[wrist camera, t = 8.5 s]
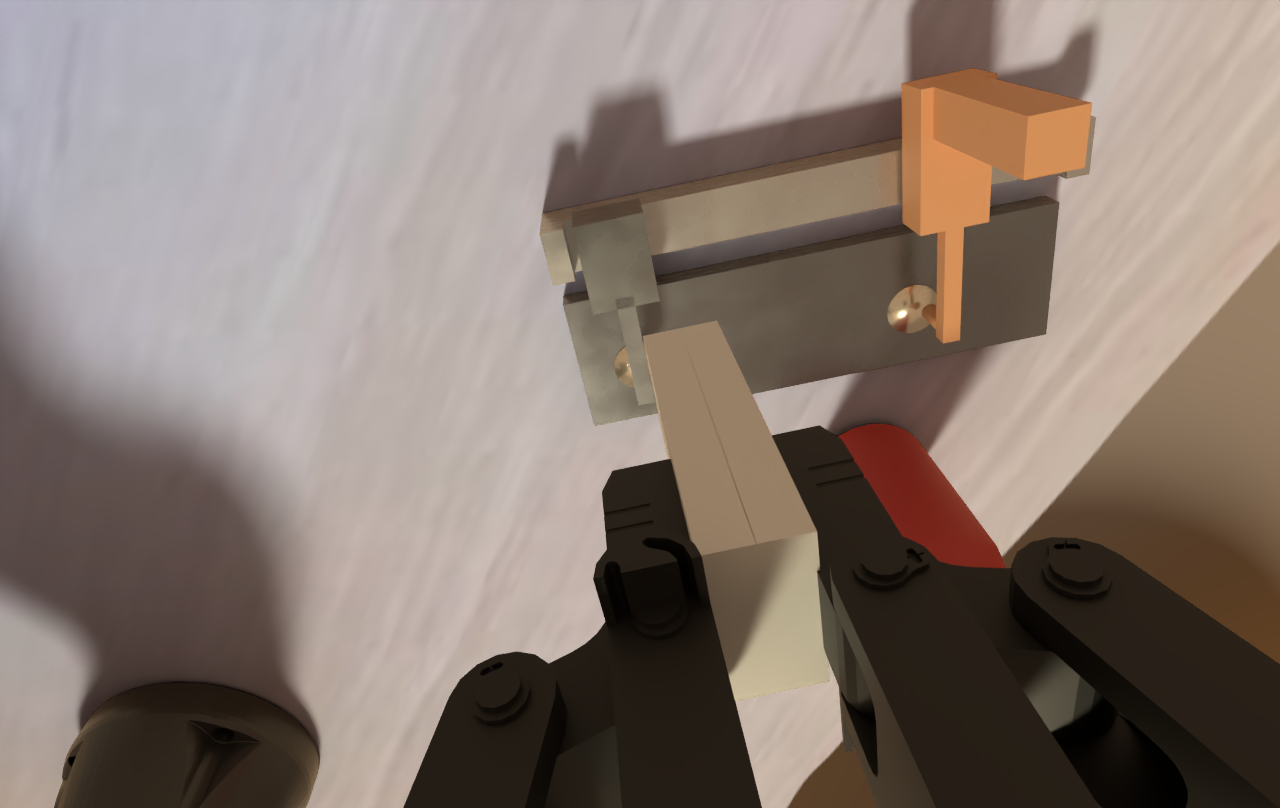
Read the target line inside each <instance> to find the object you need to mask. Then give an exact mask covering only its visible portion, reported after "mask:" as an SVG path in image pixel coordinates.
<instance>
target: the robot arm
mask: <svg viewBox="0 0 1280 808" xmlns="http://www.w3.org/2000/svg"><path fill="white" fill-rule="evenodd" d="M643 340H644V345H645V350H646V355H647V360H648V365H649V370H650V375H651V380H652V385H653V390H654V395H655V399H656V404H657V409H658V414H659V419H660V424H661V429H662V434H663V439H664V444H665V449H666V453H667V458H668V459H667V460H663V461H658V462H653V463H648V464H643V465H639V466H634V467H629V468H624V469H620V470H615V471H612V473H611V475H610V477H609V479H608V481H607V483H606V485H605V487H604V489H603V491H602V497H603V509H604V516H605V517H604V520H605V531H606V543H607V550H606V552H605V553H604V554H603V556H602V557H601V558H600V560H599V561H598V562H597V564H596V568H595V573H594V578H593V580H594V583H595V586H596V590H597V593H598V597H599V600H600V604H601V607H602V610H603V614H604V617H605V621H606V622H605V623H604V625H603V626H602V627H601V629H600V630H599V632H598V633H597V634H596V635H595V636H594V637H593V638H592V639H590V640H589V641H588V642H587V643H586V644H584V645H583V646H581V647H580V648H578V649H576V650H575V651H573V652H571V653H569V654H567V655H565V656H563V657H561V658H559V659H557V660H555V661H553V662H551V663H549V664H548V663H547V662H545V661H544V660H542V659H541V658H539V657H538V656H536V655H535V654H528V653H522V652H512V653H506V654H501V655H496V656H494V657H492V658H490V659H488V660H486V661H484V662H482V663H480V664H478V665H476V666H475V667H474V668H473V669H472V670H470V671H469V672H468V673H467V674H466V675H465V676H464V677H462V678H461V679H460V681H459V682H458V684H457V686H456V687H455V689H454V690H453V692H452V693H451V695H450V697H449V699H448V701H447V704H446V706H445V708H444V711H443V713H442V716H441V718H440V721H439V723H438V725H437V728H436V730H435V733H434V735H433V737H432V740H431V742H430V745H429V747H428V750H427V752H426V754H425V757H424V759H423V762H422V764H421V766H420V769H419V771H418V774H417V776H416V778H415V781H414V783H413V786H412V788H411V791H410V793H409V795H408V798H407V800H406V803H405V805H404V807H403V808H762V806H761V802H760V798H759V794H758V790H757V787H756V783H755V779H754V775H753V771H752V767H751V763H750V759H749V755H748V751H747V747H746V743H745V739H744V735H743V731H742V727H741V723H740V719H739V715H738V711H737V707H736V703H735V701H737V700H742V699H747V698H751V697H756V696H761V695H766V694H771V693H776V692H781V691H785V690H790V689H795V688H800V687H805V686H810V685H814V684H819V683H824V682H829V681H830V678H829V666H828V660H829V663H830V665H831V668H832V670H833V673H834V675H835V678H836V680H837V683H838V685H839V694H840V707H841V721H842V734H843V742H844V749H845V752H848V751H853V745H854V748H855V750H856V753H857V756H858V758H859V761H860V763H861V766H862V768H863V771H864V774H865V776H866V779H867V782H868V784H869V787H870V789H871V792H872V795H873V797H874V799H875V802H876V805H877V808H1280V664H1279V663H1277V662H1276V661H1274V660H1273V659H1271V658H1270V657H1268V656H1267V655H1266V654H1264V653H1263V652H1261V651H1260V650H1258V649H1257V648H1255V647H1254V646H1252V645H1251V644H1249V643H1248V642H1247V641H1245V640H1244V639H1242V638H1241V637H1239V636H1238V635H1236V634H1235V633H1234V632H1232V631H1230V630H1229V629H1228V628H1226V627H1225V626H1223V625H1222V624H1220V623H1219V622H1218V621H1216V620H1215V619H1213V618H1212V617H1210V616H1209V615H1207V614H1206V613H1204V612H1203V611H1201V610H1200V609H1199V608H1197V607H1196V606H1194V605H1193V604H1191V603H1190V602H1188V601H1187V600H1185V599H1184V598H1182V597H1181V596H1180V595H1178V594H1177V593H1175V592H1174V591H1172V590H1171V589H1169V588H1168V587H1167V586H1165V585H1164V584H1162V583H1161V582H1159V581H1158V580H1156V579H1155V578H1153V577H1152V576H1151V575H1149V574H1147V573H1146V572H1145V571H1143V570H1142V569H1140V568H1139V567H1137V566H1136V565H1134V564H1133V563H1132V562H1130V561H1129V560H1127V559H1126V558H1124V557H1123V556H1121V555H1120V554H1117V553H1116V552H1114V551H1111V550H1110V549H1108V548H1106V547H1104V546H1102V545H1100V544H1096V543H1093V542H1088V541H1085V540H1081V539H1077V538H1055V537H1054V538H1052V537H1051V538H1047V539H1043V540H1039V541H1034V542H1031V543H1029V544H1028V545H1027V546H1025V547H1024V548H1022V549H1021V550H1019V551H1018V552H1017V554H1016V556H1015V558H1014V561H1013V563H1012V565H1011V568H986V567H967V566H958V565H952V564H948V563H944V562H941V561H938V560H937V558H936V557H935V556H934V555H933V554H932V553H931V552H930V551H929V550H928V549H927V548H926V547H925V546H923V545H921V544H919V543H917V542H915V541H913V540H911V539H908V538H906V537H903V536H902V535H901V533H900V531H899V530H898V528H897V527H896V525H895V523H894V522H893V520H892V519H891V517H890V515H889V514H888V512H887V511H886V509H885V507H884V506H883V504H882V503H881V501H880V499H879V498H878V496H877V495H876V493H875V491H874V490H873V488H872V487H871V485H870V483H869V482H868V480H867V479H866V478H864V474H863V472H862V471H861V469H860V468H859V466H858V464H857V463H856V462H854V458H853V456H852V455H851V453H850V452H849V450H848V448H847V447H846V445H845V444H844V442H843V440H842V439H840V438H839V437H837V436H836V435H834V434H832V433H831V432H829V431H827V430H826V429H824V428H823V427H821V426H815V427H810V428H805V429H801V430H796V431H791V432H786V433H781V434H777V435H771V433H770V431H769V429H768V427H767V425H766V423H765V421H764V419H763V416H762V414H761V412H760V410H759V408H758V406H757V404H756V402H755V400H754V398H753V395H752V393H751V391H750V389H749V387H748V385H747V383H746V381H745V379H744V376H743V374H742V372H741V370H740V368H739V366H738V364H737V362H736V360H735V358H734V355H733V353H732V351H731V349H730V347H729V345H728V343H727V341H726V339H725V336H724V334H723V332H722V330H721V328H720V326H719V324H718V322H717V321H712V322H707V323H702V324H698V325H693V326H688V327H683V328H679V329H674V330H669V331H665V332H660V333H655V334H650V335H646V336H643ZM318 769H319V759H318V754H317V750H316V747H315V745H314V743H313V741H312V739H311V738H310V736H309V735H308V733H307V732H306V731H305V730H304V729H303V727H302V726H301V725H300V724H299V723H298V722H297V721H295V720H294V719H293V718H292V717H291V716H289V715H288V714H287V713H285V712H284V711H282V710H281V709H279V708H277V707H276V706H274V705H272V704H270V703H268V702H266V701H264V700H262V699H260V698H257V697H255V696H252V695H249V694H247V693H244V692H240V691H237V690H233V689H230V688H225V687H220V686H215V685H208V684H199V683H164V684H155V685H149V686H144V687H140V688H136V689H133V690H130V691H127V692H124V693H122V694H120V695H117V696H115V697H113V698H112V699H110V700H108V701H107V702H105V703H104V704H102V705H101V706H100V707H99V708H98V709H97V710H96V711H95V712H94V713H93V714H92V715H91V716H90V718H89V719H88V721H87V722H86V724H85V725H84V727H83V729H82V730H81V732H80V733H79V735H78V736H77V738H76V739H75V741H74V743H73V744H72V746H71V748H70V750H69V752H68V754H67V757H66V760H65V763H64V768H63V775H62V778H63V782H62V785H61V787H60V790H59V793H58V796H57V799H56V802H55V806H54V808H306V806H307V804H308V802H309V799H310V796H311V793H312V790H313V787H314V783H315V780H316V777H317V774H318Z"/></svg>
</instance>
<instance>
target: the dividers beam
mask: <svg viewBox="0 0 1280 808" xmlns="http://www.w3.org/2000/svg"><path fill="white" fill-rule="evenodd" d="M1095 120H1096V117H1094V116H1091V117H1090V126H1089V135H1088V143H1087V152H1086V161H1085V168H1081V169H1076V170H1071V171H1066V172H1062V173H1057V174H1056V175H1058V176H1061V177H1063V178H1066V179H1068V178H1072V177H1077V176H1082V175H1087V174H1089V171H1090V162H1091V154H1092V145H1093V137H1094V128H1095ZM1018 179H1019V178H1017V177H1015V176H1013V175H1010V174H1008V173H1006V172H1004V171H1002V170H999V169H997V168H995V167H993V166H992V177H991V185H994V184H998V183H1003V182H1008V181H1013V180H1018ZM902 203H903V195H902V138H897V139H893V140H888V141H883V142H878V143H874V144H869V145H864V146H859V147H855V148H850V149H845V150H840V151H836V152H831V153H826V154H821V155H817V156H812V157H807V158H802V159H798V160H793V161H788V162H783V163H779V164H774V165H769V166H764V167H760V168H755V169H750V170H745V171H741V172H736V173H731V174H726V175H722V176H717V177H712V178H708V179H703V180H698V181H693V182H689V183H684V184H679V185H674V186H670V187H665V188H660V189H655V190H651V191H646V192H641V193H636V194H632V195H627V196H622V197H617V198H613V199H608V200H603V201H598V202H594V203H589V204H584V205H579V206H575V207H570V208H565V209H560V210H556V211H551V212H546V213H542V219H541V228H540V237H541V241H542V245H543V248H544V252H545V256H546V260H547V264H548V267H549V271H550V275H551V279H552V283H553V286H554V285H559V284H563V283H568V282H573V281H575V272H576V271H581V270H583V275H584V279H585V283H586V287H587V291H588V295H589V300H590V304H591V308H592V312H593V315H595V314H600V313H605V312H610V311H615V310H618V314H619V319H620V323H621V328H622V332H623V337H624V341H625V346H626V350H627V355H628V360H629V364H630V369H631V373H632V378H633V382H634V387H635V391H636V396H637V400H638V405H644V404H649V403H654V402H655V399H654V394H653V389H652V384H651V379H650V374H649V369H648V365H647V360H646V355H645V350H644V345H643V340H642V336H641V331H640V326H639V321H638V316H637V311H636V306H639V305H644V304H648V303H653V302H658V301H660V299H659V294H658V289H657V283H656V278H655V273H654V267H653V262H652V257H651V256H653V255H658V254H663V253H668V252H672V251H677V250H682V249H687V248H691V247H696V246H701V245H706V244H711V243H715V242H720V241H725V240H730V239H735V238H739V237H744V236H749V235H754V234H759V233H763V232H768V231H773V230H778V229H783V228H787V227H792V226H797V225H802V224H807V223H811V222H816V221H821V220H826V219H831V218H835V217H840V216H845V215H850V214H855V213H859V212H864V211H869V210H874V209H878V208H883V207H888V206H893V205H898V204H902Z"/></svg>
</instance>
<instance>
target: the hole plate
mask: <svg viewBox="0 0 1280 808" xmlns="http://www.w3.org/2000/svg"><path fill="white" fill-rule="evenodd" d="M1058 210H1059V202H1057V201H1055V200H1053V199H1051V198H1049V197H1047V196H1042V197H1037V198H1032V199H1028V200H1023V201H1018V202H1013V203H1008V204H1003V205H999V206H994V207H990V215H989V222H987V223H982V224H977V225H972V226H967V227H964V239H963V268H962V296H961V325H960V340H958V341H953V342H948V343H942V342H941V341H940V340H939V339H938V338H937V337H936V329H935V328H934V327H933V326H932V325H931V324H930V323H929V322H928V321H927V320H926V319H925V318H924V317H923V316H922V309H923V308H924V307H925V306H926V305H928V304H934V305H936V300H937V241H938V233H934V234H929V235H924V236H919V235H918V234H917V233H915V232H914V231H913V230H911V229H910V228H909V227H907V226H906V225H902V226H898V227H893V228H888V229H883V230H878V231H874V232H869V233H864V234H859V235H854V236H849V237H845V238H840V239H835V240H830V241H825V242H821V243H816V244H811V245H806V246H801V247H797V248H792V249H787V250H782V251H777V252H772V253H768V254H763V255H758V256H753V257H748V258H744V259H739V260H734V261H729V262H724V263H720V264H715V265H710V266H705V267H700V268H696V269H691V270H686V271H681V272H676V273H671V274H667V275H662V276H657V277H655V278H656V283H657V289H658V294H659V299H660V301H658V302H653V303H648V304H644V305H639V306H636V311H637V316H638V321H639V326H640V331H641V336H642V340H643V336H646V335H650V334H655V333H660V332H665V331H669V330H674V329H679V328H683V327H688V326H693V325H698V324H702V323H707V322H712V321H717V322H718V324H719V326H720V328H721V330H722V332H723V334H724V336H725V339H726V341H727V343H728V345H729V347H730V349H731V351H732V353H733V355H734V358H735V360H736V362H737V364H738V366H739V368H740V370H741V372H742V374H743V376H744V379H745V381H746V383H747V385H748V387H749V389H750V391H751V393H752V394H754V393H759V392H764V391H769V390H774V389H779V388H784V387H789V386H794V385H799V384H804V383H809V382H814V381H818V380H823V379H828V378H833V377H838V376H843V375H848V374H853V373H858V372H863V371H868V370H873V369H877V368H882V367H887V366H892V365H897V364H902V363H907V362H912V361H917V360H922V359H927V358H932V357H937V356H941V355H946V354H951V353H956V352H961V351H966V350H971V349H976V348H981V347H986V346H991V345H996V344H1001V343H1005V342H1010V341H1015V340H1020V339H1025V338H1030V337H1035V336H1040V335H1045V334H1046V329H1047V319H1048V309H1049V299H1050V289H1051V279H1052V269H1053V260H1054V250H1055V240H1056V230H1057V220H1058ZM563 306H564V310H565V314H566V318H567V321H568V325H569V329H570V333H571V337H572V341H573V345H574V348H575V352H576V356H577V360H578V364H579V368H580V372H581V375H582V379H583V383H584V387H585V391H586V395H587V398H588V402H589V406H590V410H591V414H592V418H593V422H594V425H595V426H597V425H602V424H607V423H612V422H617V421H622V420H626V419H631V418H636V417H641V416H646V415H651V414H656V413H658V409H657V404H656V399H655V395H654V399H655V402H654V403H649V404H644V405H638V400H637V396H636V391H635V387H634V382H633V378H632V373H631V369H630V364H629V360H628V355H627V350H626V346H625V341H624V337H623V332H622V328H621V323H620V319H619V314H618V310H615V311H610V312H605V313H600V314H595V315H593V312H592V308H591V304H590V300H589V295H588V291H585V292H580V293H575V294H570V295H566V296H564V297H563ZM643 345H644V340H643ZM644 350H645V345H644ZM645 355H646V350H645ZM646 360H647V355H646ZM647 365H648V360H647ZM648 369H649V365H648ZM649 374H650V370H649ZM650 379H651V375H650ZM651 384H652V380H651ZM652 389H653V385H652ZM653 394H654V390H653Z"/></svg>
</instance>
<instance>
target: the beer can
mask: <svg viewBox="0 0 1280 808" xmlns="http://www.w3.org/2000/svg"><path fill="white" fill-rule="evenodd" d="M838 437H839V438H840V439H842V440H843V442H844V444H845V445H846V447H847V448H848V450H849V452H850V453H851V455H852V456H853V458H854V462H856V463H857V464H858V466H859V468H860V469H861V471H862V472H863V474H864V478H866V479H867V480H868V482H869V483H870V485H871V487H872V488H873V490H874V491H875V493H876V495H877V496H878V498H879V499H880V501H881V503H882V504H883V506H884V507H885V509H886V511H887V512H888V514H889V515H890V517H891V519H892V520H893V522H894V523H895V525H896V527H897V528H898V530H899V531H900V533H901V535H902V536H903V537H906V538H908V539H911V540H913V541H915V542H917V543H919V544H921V545H923V546H925V547H926V548H927V549H928V550H929V551H930V552H931V553H932V554H933V555H934V556H935V557H936V558H937V560H938V561H941V562H944V563H948V564H952V565H958V566H967V567H986V568H1006V566H1005V564H1004V561H1003V559H1002V556H1001V554H1000V552H999V550H998V548H997V546H996V544H995V543H994V542H993V540H992V539H991V538H990V536H989V535H988V534H987V532H986V531H985V530H984V528H983V527H982V526H981V524H980V523H979V522H978V520H977V519H976V518H975V516H974V515H973V514H972V512H971V511H970V510H969V508H968V507H967V505H966V504H965V503H964V501H963V500H962V499H961V497H960V496H959V495H958V493H957V492H956V491H955V489H954V488H953V487H952V485H951V484H950V483H949V481H948V480H947V479H946V477H945V476H944V475H943V473H942V472H941V471H940V469H939V468H938V466H937V465H936V464H935V462H934V461H933V460H932V458H931V457H930V456H929V454H928V453H927V452H926V450H925V449H924V448H923V446H922V445H921V444H920V442H919V441H918V440H917V439H916V438H915V437H914V436H913V435H911V434H910V433H909V432H908V431H907V430H905V429H902V428H899V427H896V426H893V425H890V424H868V425H864V426H860V427H856V428H853V429H851V430H849V431H847V432H845V433H843V434H841V435H839V436H838Z"/></svg>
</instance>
